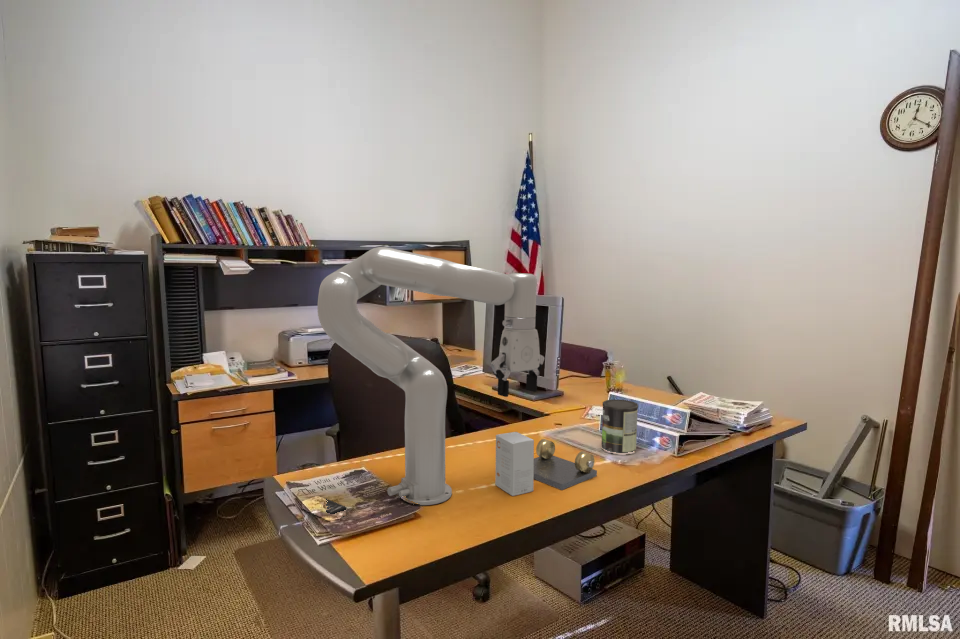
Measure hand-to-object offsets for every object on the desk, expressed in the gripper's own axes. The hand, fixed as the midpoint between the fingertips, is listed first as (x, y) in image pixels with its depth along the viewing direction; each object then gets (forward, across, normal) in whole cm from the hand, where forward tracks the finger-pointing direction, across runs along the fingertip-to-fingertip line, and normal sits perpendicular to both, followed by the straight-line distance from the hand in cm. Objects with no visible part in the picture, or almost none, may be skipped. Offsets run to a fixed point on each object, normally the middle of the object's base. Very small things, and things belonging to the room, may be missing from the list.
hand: (517, 393), depth 140 cm
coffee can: (+23, +43, 0) cm, 48 cm away
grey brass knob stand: (+23, +14, -1) cm, 27 cm away
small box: (+24, -1, -1) cm, 24 cm away
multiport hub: (+25, -43, +16) cm, 53 cm away
